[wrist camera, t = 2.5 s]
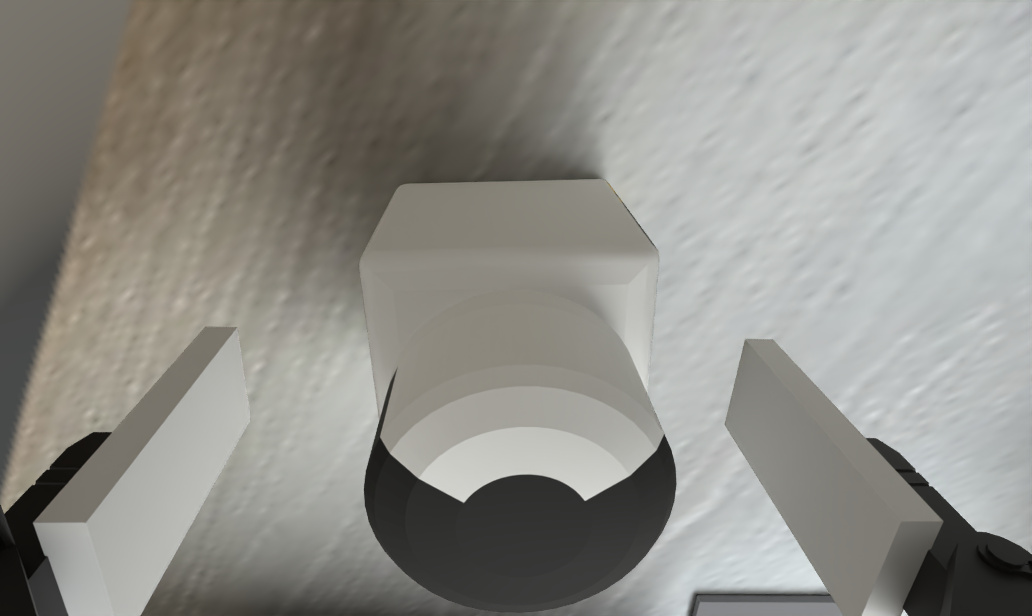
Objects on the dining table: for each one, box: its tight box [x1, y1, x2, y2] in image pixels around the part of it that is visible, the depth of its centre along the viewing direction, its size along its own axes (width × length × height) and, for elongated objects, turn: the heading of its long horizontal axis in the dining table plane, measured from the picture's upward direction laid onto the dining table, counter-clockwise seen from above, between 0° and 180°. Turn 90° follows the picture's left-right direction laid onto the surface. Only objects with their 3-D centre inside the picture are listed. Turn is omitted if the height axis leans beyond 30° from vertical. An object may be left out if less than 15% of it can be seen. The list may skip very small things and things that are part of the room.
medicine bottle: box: [359, 179, 676, 613], centre depth 17 cm, size 7×7×12 cm
